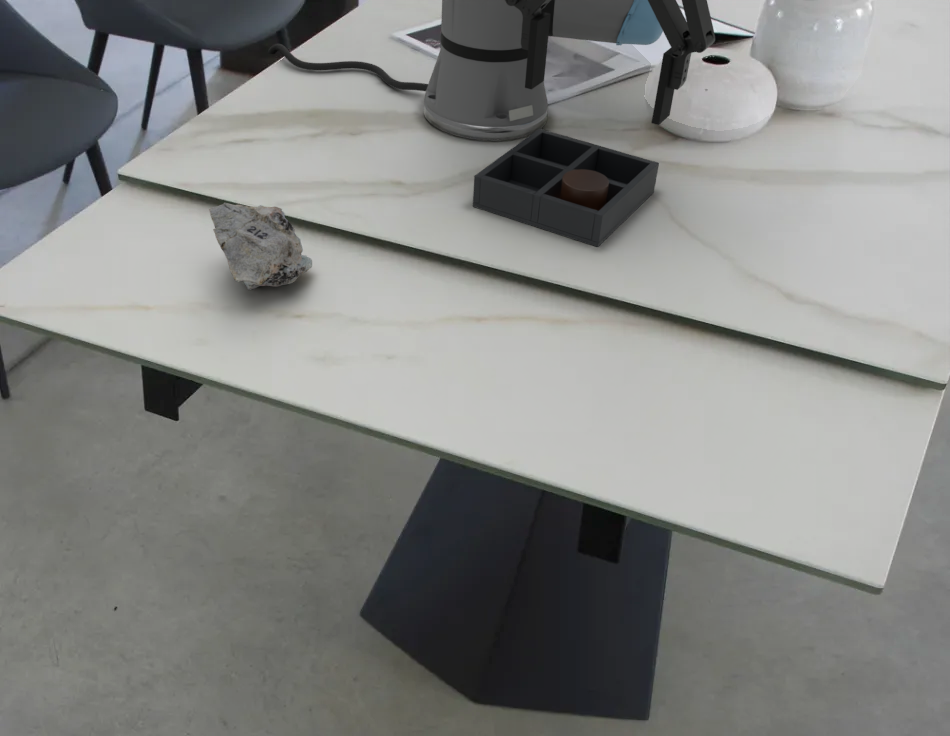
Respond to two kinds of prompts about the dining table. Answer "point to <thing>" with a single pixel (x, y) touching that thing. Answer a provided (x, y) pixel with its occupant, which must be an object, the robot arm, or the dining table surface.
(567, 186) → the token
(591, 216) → the grid
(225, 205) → the mineral specimen
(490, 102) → the robot arm
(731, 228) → the dining table surface
